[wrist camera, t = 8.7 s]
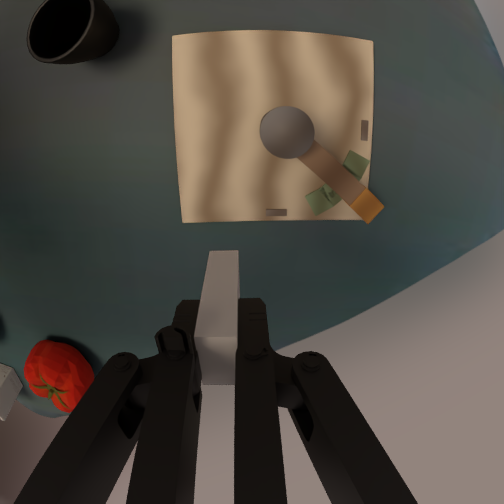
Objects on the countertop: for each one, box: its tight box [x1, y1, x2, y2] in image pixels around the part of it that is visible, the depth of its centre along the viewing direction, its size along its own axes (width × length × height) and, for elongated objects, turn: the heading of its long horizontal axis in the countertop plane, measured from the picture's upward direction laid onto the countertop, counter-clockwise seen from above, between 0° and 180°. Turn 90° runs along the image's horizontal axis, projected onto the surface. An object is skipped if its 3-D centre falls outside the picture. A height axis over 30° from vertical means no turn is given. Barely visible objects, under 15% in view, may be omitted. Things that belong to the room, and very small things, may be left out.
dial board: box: [172, 30, 374, 223], centre depth 31 cm, size 22×22×1 cm
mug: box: [27, 0, 119, 64], centre depth 21 cm, size 8×12×10 cm
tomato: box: [24, 340, 94, 413], centre depth 44 cm, size 14×13×10 cm
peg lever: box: [259, 106, 384, 224], centre depth 29 cm, size 15×4×8 cm, turn 51°
